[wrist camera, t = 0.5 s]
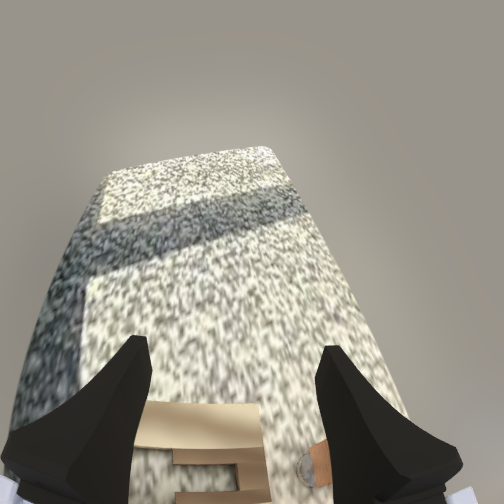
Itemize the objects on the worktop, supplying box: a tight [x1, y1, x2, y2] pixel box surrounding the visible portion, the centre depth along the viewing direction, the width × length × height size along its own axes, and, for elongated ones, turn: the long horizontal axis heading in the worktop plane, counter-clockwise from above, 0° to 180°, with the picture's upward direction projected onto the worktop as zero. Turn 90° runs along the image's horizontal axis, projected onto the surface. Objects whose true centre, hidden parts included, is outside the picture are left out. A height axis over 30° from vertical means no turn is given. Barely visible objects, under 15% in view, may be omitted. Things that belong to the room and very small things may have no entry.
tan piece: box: [134, 401, 272, 504], centre depth 21 cm, size 14×14×3 cm
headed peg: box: [296, 439, 333, 487], centre depth 23 cm, size 4×4×8 cm
